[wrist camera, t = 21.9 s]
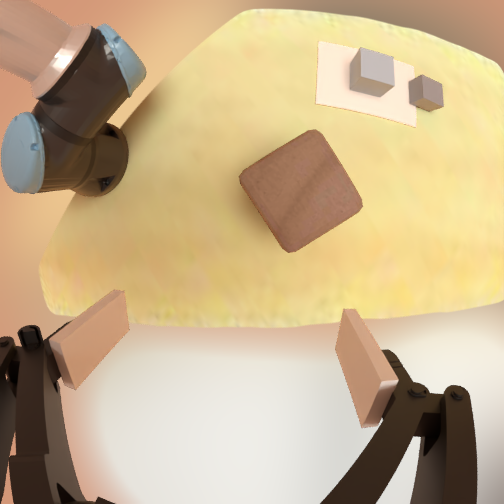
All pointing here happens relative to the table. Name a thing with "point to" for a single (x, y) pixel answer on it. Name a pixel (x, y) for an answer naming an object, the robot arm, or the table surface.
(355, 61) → the slate cube
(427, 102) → the grey cube
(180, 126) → the table surface
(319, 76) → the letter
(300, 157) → the wooden block
